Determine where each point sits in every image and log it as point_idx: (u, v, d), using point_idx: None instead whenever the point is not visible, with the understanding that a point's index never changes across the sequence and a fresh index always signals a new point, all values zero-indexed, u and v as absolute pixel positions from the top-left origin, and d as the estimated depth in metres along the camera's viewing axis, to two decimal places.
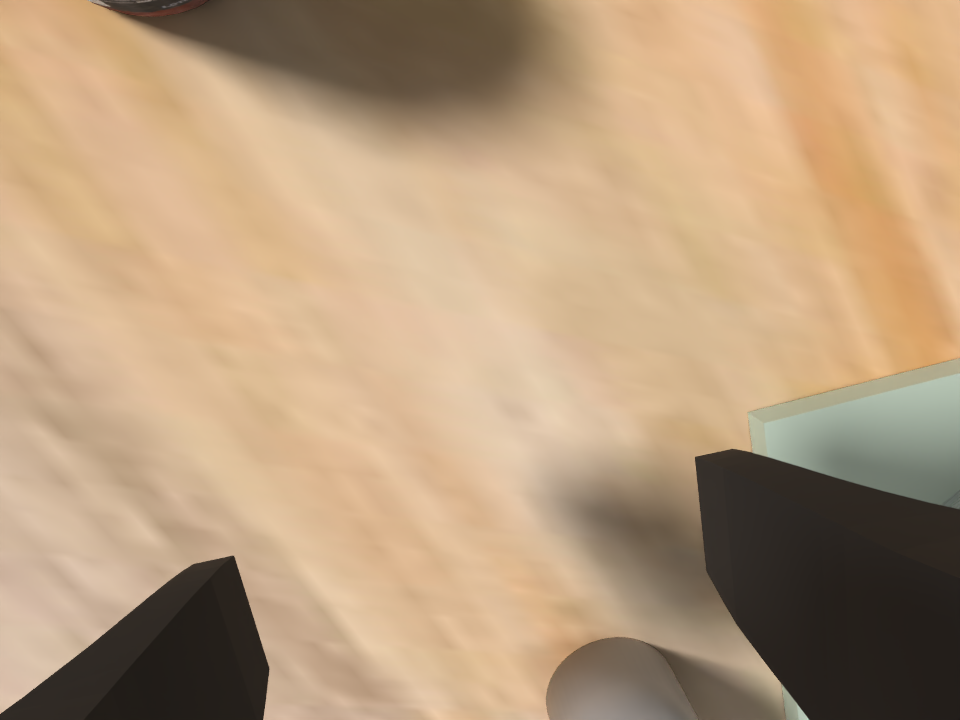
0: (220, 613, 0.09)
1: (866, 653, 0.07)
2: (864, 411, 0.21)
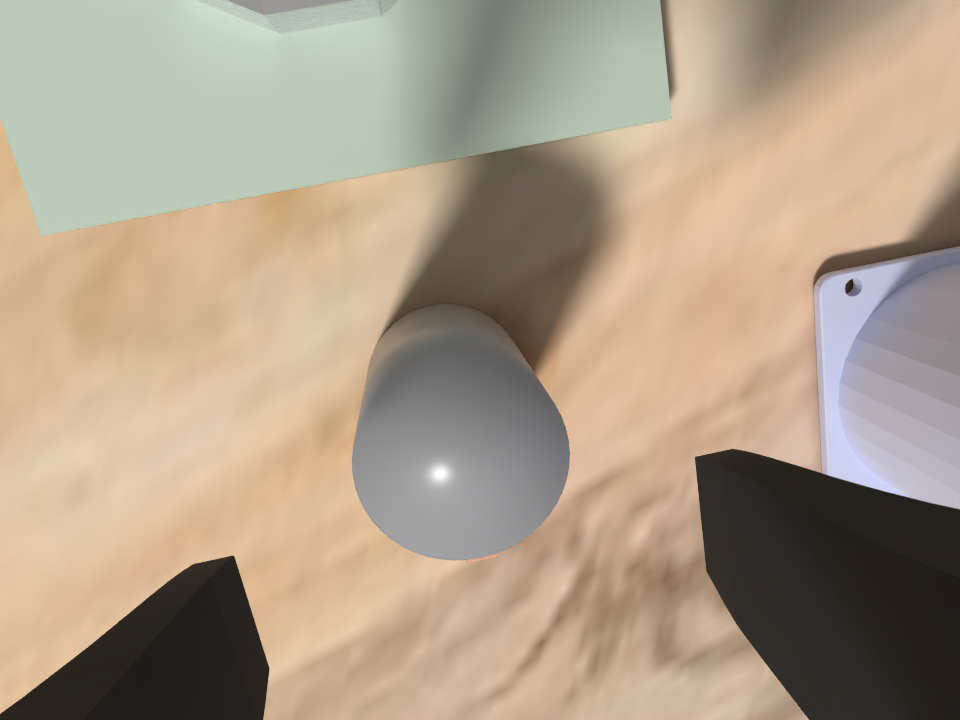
0: (220, 613, 0.09)
1: (866, 653, 0.07)
2: (13, 98, 0.16)
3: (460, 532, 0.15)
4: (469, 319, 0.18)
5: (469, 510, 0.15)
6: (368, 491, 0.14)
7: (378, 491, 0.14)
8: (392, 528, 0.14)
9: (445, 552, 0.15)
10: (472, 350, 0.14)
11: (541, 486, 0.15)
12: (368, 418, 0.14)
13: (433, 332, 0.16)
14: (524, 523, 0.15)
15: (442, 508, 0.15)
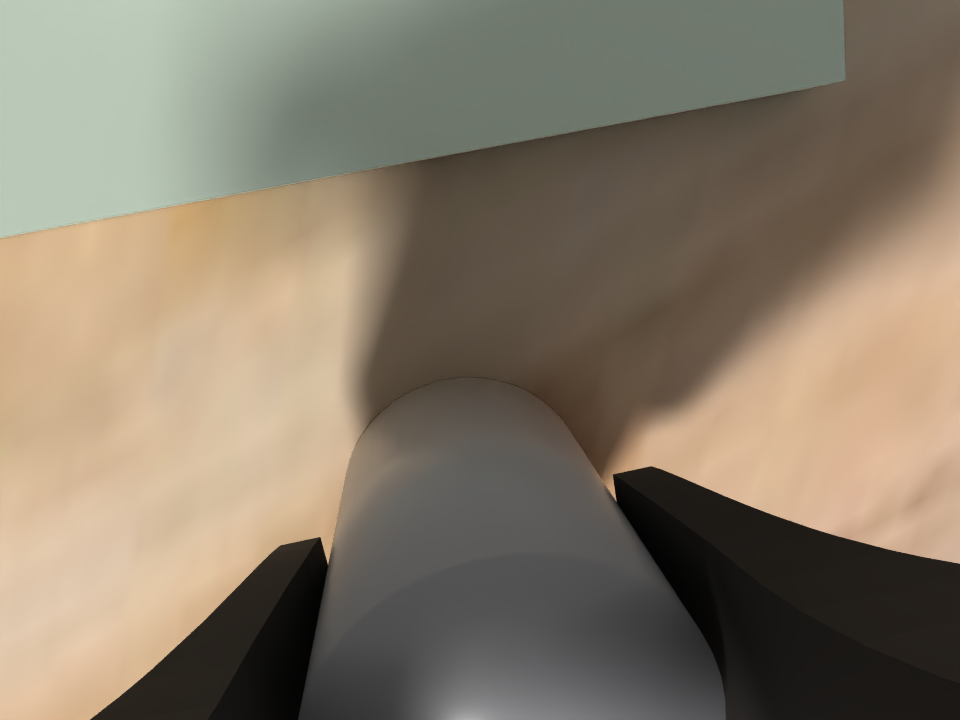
0: (315, 592, 0.09)
1: (746, 681, 0.07)
2: None
3: None
4: (510, 416, 0.11)
5: None
6: None
7: None
8: None
9: None
10: (536, 522, 0.07)
11: None
12: (326, 675, 0.07)
13: (453, 455, 0.09)
14: None
15: None
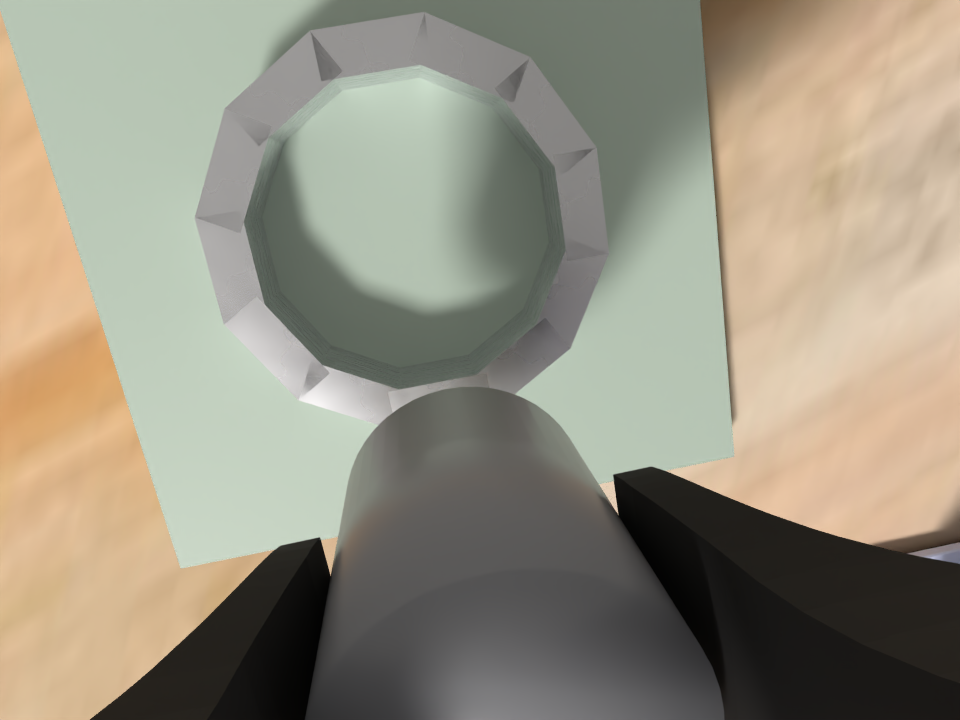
0: (315, 593, 0.09)
1: (746, 681, 0.07)
2: (164, 462, 0.18)
3: None
4: (511, 426, 0.11)
5: None
6: None
7: None
8: None
9: None
10: (536, 537, 0.07)
11: None
12: (330, 688, 0.07)
13: (454, 467, 0.09)
14: None
15: None
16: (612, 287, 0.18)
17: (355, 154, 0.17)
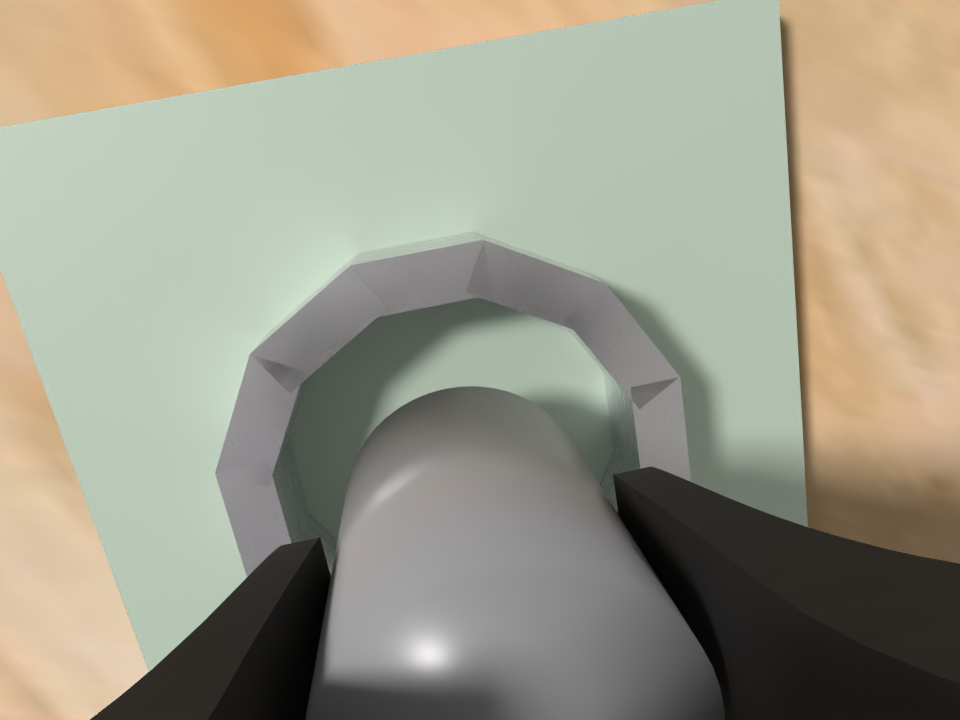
0: (315, 592, 0.09)
1: (746, 681, 0.07)
2: (129, 130, 0.13)
3: None
4: (511, 426, 0.11)
5: None
6: None
7: None
8: None
9: None
10: (537, 536, 0.07)
11: None
12: (330, 689, 0.07)
13: (454, 467, 0.09)
14: None
15: None
16: None
17: (538, 385, 0.15)
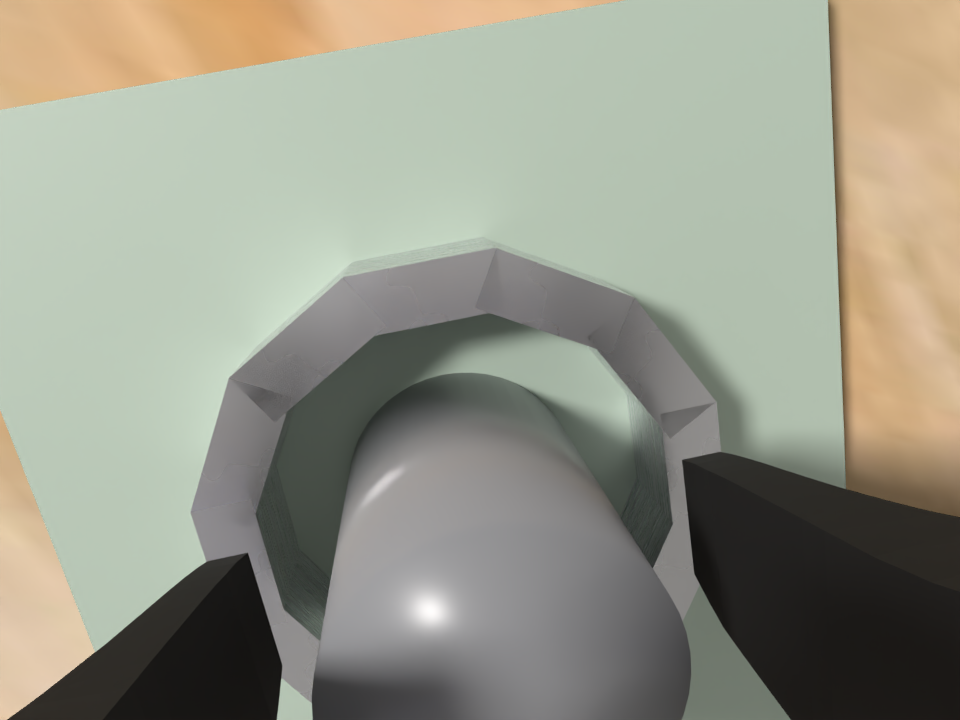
0: (235, 610, 0.09)
1: (847, 658, 0.07)
2: (93, 123, 0.12)
3: None
4: (502, 407, 0.12)
5: None
6: None
7: None
8: None
9: None
10: (523, 497, 0.08)
11: None
12: (340, 630, 0.08)
13: (450, 441, 0.10)
14: None
15: None
16: None
17: (553, 407, 0.14)
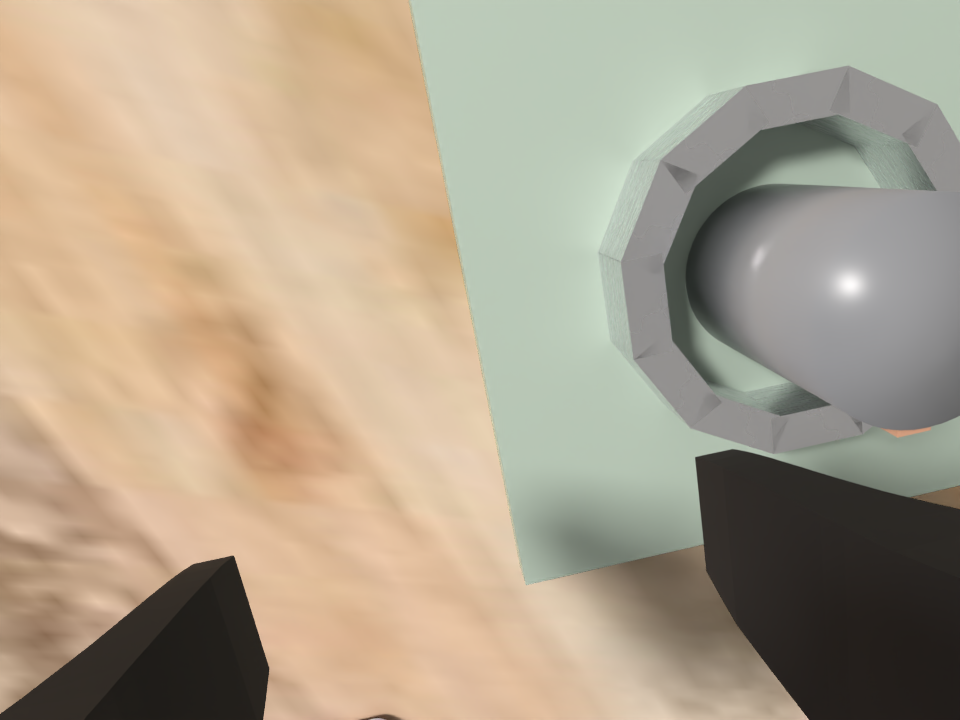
0: (220, 613, 0.09)
1: (866, 653, 0.07)
2: None
3: (911, 397, 0.13)
4: None
5: (924, 372, 0.13)
6: (823, 349, 0.13)
7: (834, 349, 0.13)
8: (842, 392, 0.13)
9: (891, 421, 0.13)
10: None
11: None
12: (836, 263, 0.12)
13: (835, 190, 0.15)
14: None
15: (896, 369, 0.13)
16: (698, 452, 0.20)
17: None
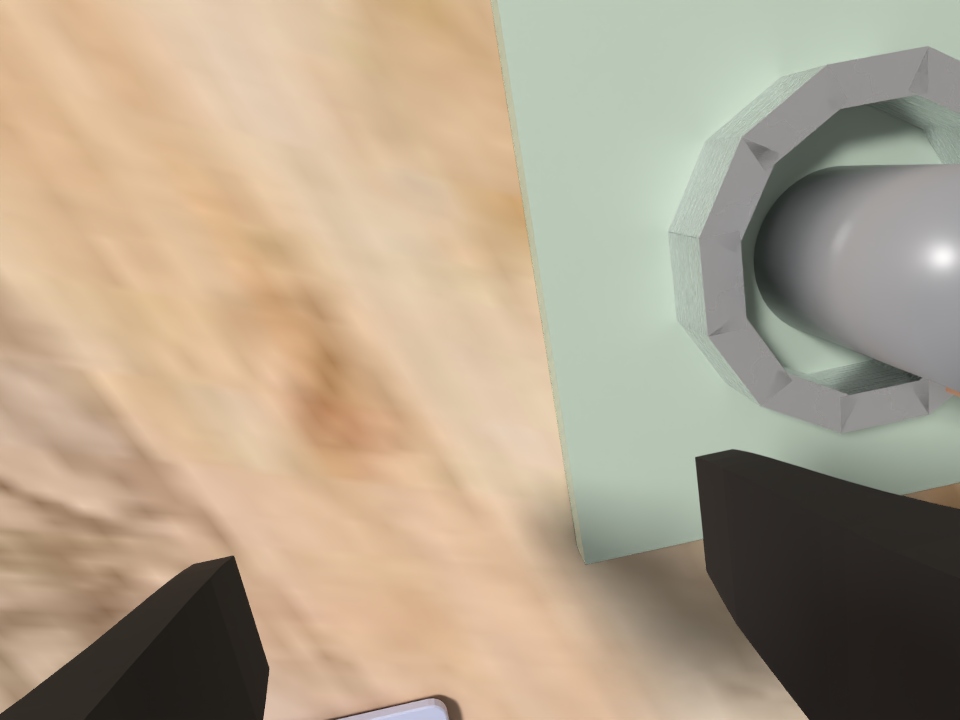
0: (220, 613, 0.09)
1: (866, 653, 0.07)
2: None
3: None
4: None
5: None
6: (927, 320, 0.13)
7: (937, 320, 0.13)
8: (943, 363, 0.13)
9: None
10: None
11: None
12: (943, 233, 0.13)
13: (920, 167, 0.15)
14: None
15: None
16: (759, 433, 0.20)
17: None
